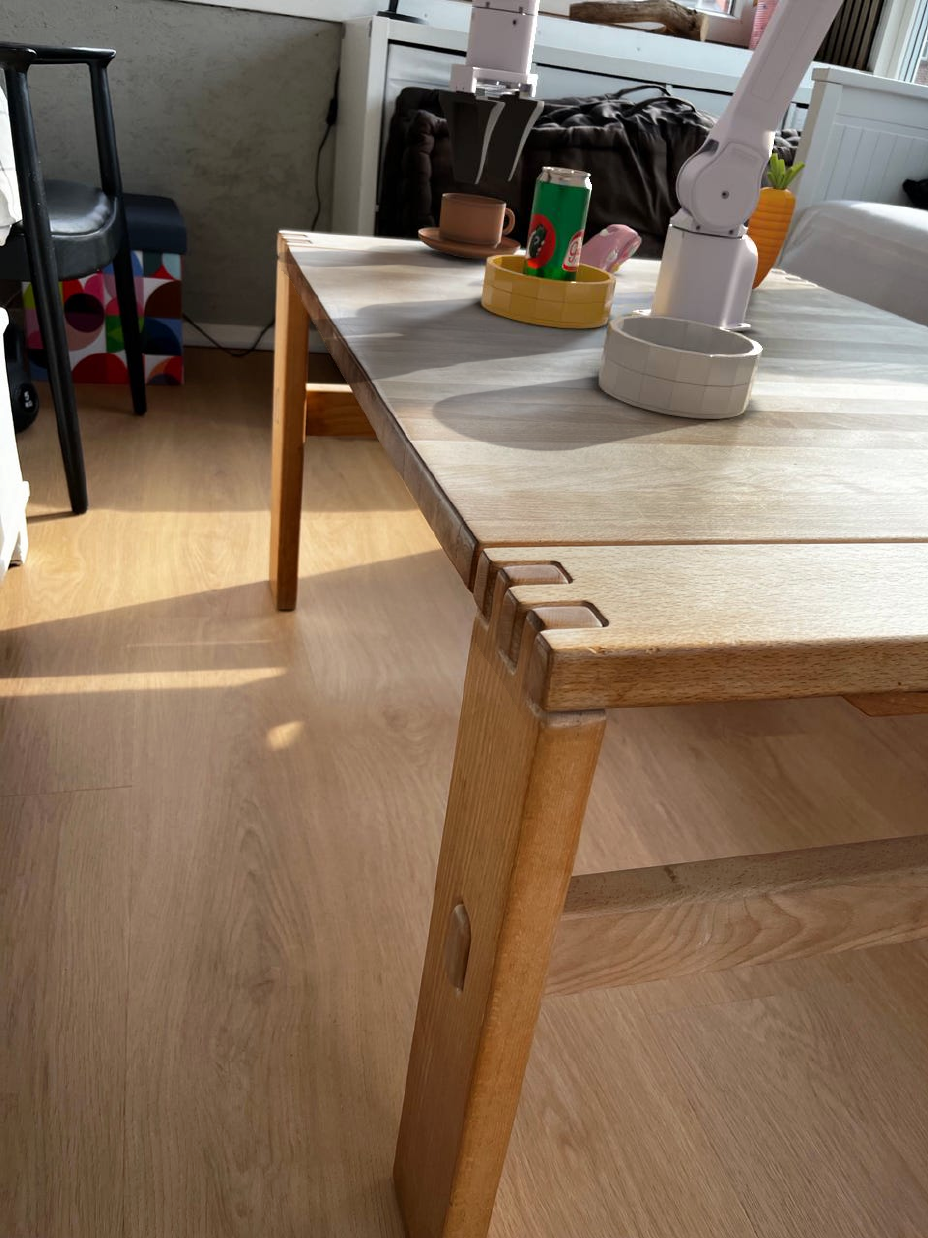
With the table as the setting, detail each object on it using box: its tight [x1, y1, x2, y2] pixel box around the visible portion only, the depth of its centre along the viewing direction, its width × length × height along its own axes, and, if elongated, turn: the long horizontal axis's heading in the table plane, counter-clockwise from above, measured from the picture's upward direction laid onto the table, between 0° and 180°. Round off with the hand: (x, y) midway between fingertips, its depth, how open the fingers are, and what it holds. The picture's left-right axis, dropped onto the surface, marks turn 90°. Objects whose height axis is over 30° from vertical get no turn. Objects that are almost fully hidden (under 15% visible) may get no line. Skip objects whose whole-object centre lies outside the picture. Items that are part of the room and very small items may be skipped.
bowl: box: [480, 253, 617, 329], centre depth 97 cm, size 12×12×4 cm
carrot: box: [746, 152, 806, 291], centre depth 120 cm, size 5×5×15 cm
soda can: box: [523, 166, 592, 282], centre depth 95 cm, size 5×5×12 cm
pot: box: [598, 315, 764, 420], centre depth 77 cm, size 11×11×4 cm
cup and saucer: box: [417, 192, 521, 260], centre depth 119 cm, size 12×12×6 cm
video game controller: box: [579, 223, 643, 275], centre depth 118 cm, size 10×5×7 cm, turn 148°
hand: (483, 180), depth 95 cm, fingers open, 7 cm apart
